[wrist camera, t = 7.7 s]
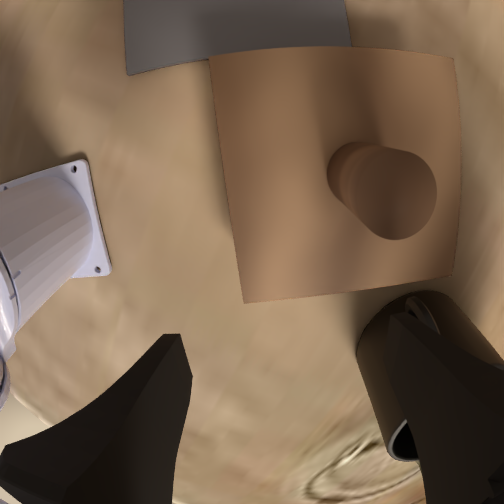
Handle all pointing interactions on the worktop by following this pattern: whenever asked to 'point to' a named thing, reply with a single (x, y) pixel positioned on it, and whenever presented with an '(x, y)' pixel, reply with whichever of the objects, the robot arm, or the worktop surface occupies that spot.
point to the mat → (225, 28)
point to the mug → (374, 372)
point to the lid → (338, 167)
